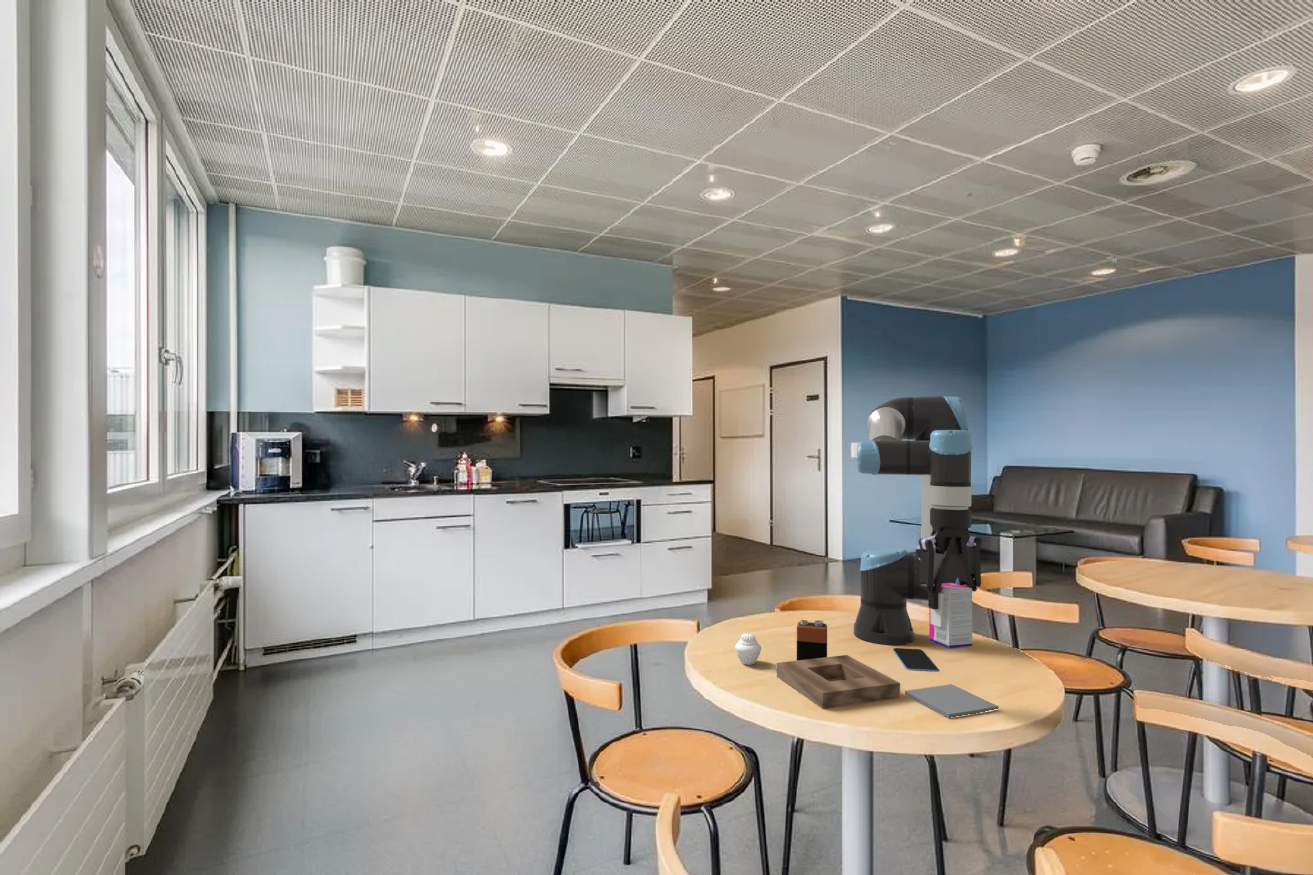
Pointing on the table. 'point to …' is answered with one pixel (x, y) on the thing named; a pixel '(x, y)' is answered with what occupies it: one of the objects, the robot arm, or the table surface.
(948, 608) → the supplement box
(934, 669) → the smartphone
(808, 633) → the battery
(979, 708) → the mat
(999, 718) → the table surface
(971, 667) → the table surface
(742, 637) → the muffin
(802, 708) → the table surface
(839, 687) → the holder
